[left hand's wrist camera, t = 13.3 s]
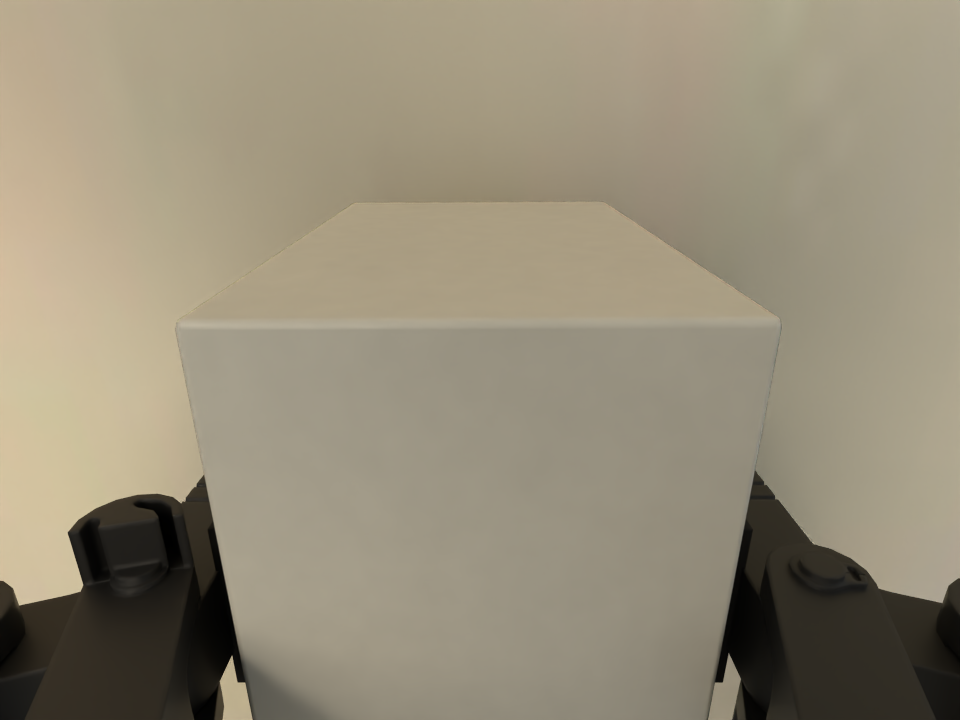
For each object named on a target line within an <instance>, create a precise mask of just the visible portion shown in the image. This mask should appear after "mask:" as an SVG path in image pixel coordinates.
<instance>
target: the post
mask: <svg viewBox="0 0 960 720" xmlns="http://www.w3.org/2000/svg"><path fill="white" fill-rule="evenodd" d="M781 329H782V326H781V321H780V318H779V317H777V316H776V315H774V314H773V313H771V312H770V311H768V310H767V309H765V308H764V307H762V306H761V305H759V304H758V303H756V302H755V301H753V300H752V299H750V298H749V297H747V296H746V295H744V294H743V293H741V292H740V291H738V290H736V289H735V288H733V287H732V286H730V285H729V284H727V283H726V282H724V281H723V280H721V279H720V278H718V277H717V276H715V275H714V274H712V273H711V272H709V271H708V270H706V269H705V268H703V267H702V266H700V265H699V264H697V263H696V262H694V261H693V260H691V259H690V258H688V257H687V256H685V255H684V254H682V253H681V252H679V251H678V250H676V249H675V248H673V247H672V246H670V245H669V244H667V243H665V242H664V241H662V240H661V239H659V238H658V237H656V236H655V235H653V234H652V233H650V232H649V231H647V230H646V229H644V228H643V227H641V226H640V225H638V224H637V223H635V222H634V221H632V220H631V219H629V218H628V217H626V216H625V215H623V214H622V213H620V212H619V211H617V210H616V209H614V208H613V207H611V206H610V205H608V204H607V203H605V202H378V203H353V204H352V205H350V206H349V207H347V208H346V209H344V210H343V211H341V212H340V213H338V214H337V215H335V216H334V217H332V218H331V219H329V220H328V221H326V222H325V223H323V224H322V225H320V226H319V227H317V228H316V229H314V230H313V231H311V232H310V233H308V234H307V235H305V236H303V237H302V238H300V239H299V240H297V241H296V242H294V243H293V244H291V245H290V246H288V247H287V248H285V249H284V250H282V251H281V252H279V253H278V254H276V255H275V256H273V257H272V258H270V259H269V260H267V261H266V262H264V263H263V264H261V265H260V266H258V267H257V268H255V269H254V270H252V271H251V272H249V273H248V274H246V275H245V276H243V277H242V278H240V279H239V280H237V281H236V282H234V283H233V284H231V285H230V286H228V287H227V288H225V289H224V290H222V291H221V292H219V293H218V294H216V295H215V296H213V297H212V298H210V299H209V300H207V301H206V302H204V303H203V304H201V305H200V306H198V307H197V308H195V309H194V310H192V311H191V312H189V313H188V314H186V315H185V316H183V317H182V318H180V319H179V320H177V323H176V335H177V340H178V345H179V350H180V355H181V360H182V366H183V371H184V376H185V381H186V386H187V391H188V396H189V401H190V406H191V411H192V416H193V421H194V426H195V431H196V436H197V441H198V446H199V451H200V456H201V461H202V466H203V471H204V476H205V481H206V486H207V491H208V496H209V502H210V507H211V512H212V517H213V522H214V527H215V532H216V537H217V542H218V547H219V552H220V557H221V562H222V567H223V572H224V577H225V582H226V587H227V592H228V597H229V602H230V607H231V612H232V617H233V622H234V627H235V632H236V637H237V643H238V648H239V653H240V658H241V663H242V668H243V673H244V678H245V683H246V688H247V693H248V698H249V703H250V708H251V713H252V718H253V720H708V716H709V711H710V705H711V700H712V695H713V690H714V684H715V679H716V674H717V668H718V663H719V658H720V652H721V647H722V642H723V636H724V631H725V626H726V621H727V615H728V610H729V605H730V599H731V594H732V589H733V583H734V578H735V573H736V568H737V562H738V557H739V552H740V546H741V541H742V536H743V530H744V525H745V520H746V514H747V509H748V504H749V499H750V493H751V488H752V483H753V477H754V472H755V467H756V461H757V456H758V451H759V446H760V440H761V435H762V430H763V424H764V419H765V414H766V408H767V403H768V398H769V392H770V387H771V382H772V377H773V371H774V366H775V361H776V355H777V350H778V345H779V339H780V334H781Z"/></svg>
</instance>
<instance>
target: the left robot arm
mask: <svg viewBox="0 0 960 720" xmlns="http://www.w3.org/2000/svg"><path fill="white" fill-rule="evenodd" d="M68 535H69V538H70V542H71V545H72V548H73V552H74V555H75V558H76V562H77V565H78V568H79V572H80V575H81V578H82V582H83V588H82V590H81V592H78V593H74V594H71V595H67V596H62V597H57V598H53V599H48V600H43V601H39V602H34V603H30V604H25V605H20V606H19V604H18V601H17V599H16V596H15V593H14V590H13V588H12V587H10V586H9V585H8V584H6V583H5V582H4V581H0V720H222V719H223V710H224V703H223V697H222V691H221V686H220V680H221V677H222V675H223V673H224V671H225V669H226V667H227V664H228V662H229V660H230V658H231V656H233V661H234V666H235V671H236V676H237V681H238V682H245V678H244V673H243V668H242V663H241V658H240V653H239V648H238V643H237V637H236V632H235V627H234V622H233V617H232V612H231V607H230V602H229V597H228V592H227V587H226V582H225V577H224V572H223V567H222V562H221V557H220V552H219V547H218V542H217V537H216V532H215V527H214V522H213V517H212V512H211V507H210V502H209V496H208V491H207V486H206V481H205V476H204V475H203V477H202V478H201V479H200V480H199V482H198V483H197V487H194V488H193V489H192V491H191V492H190V493H189V495H188V496H187V497H186V501H185V502H182V504H181V503H180V502H178V501H177V500H176V499H174V498H173V497H170V496H165V495H160V494H146V495H135V496H131V497H127V498H123V499H118V500H115V501H113V502H110V503H108V504H106V505H103V506H101V507H98V508H96V509H94V510H93V511H91V512H90V513H88V514H87V515H85V516H84V517H82V518H81V519H79V520H78V521H77V522H76V524H75V525H74V526H73V527H72V528H71V529H70V531H69V532H68ZM728 653H729V654H730V656H731V658H732V660H733V663H734V665H735V667H736V669H737V671H738V673H739V675H740V678H741V681H740V686H739V691H738V695H737V700H736V705H735V710H734V714H733V719H732V720H960V578H959V579H957V580H956V581H954V582H953V583H952V584H950V585H949V586H948V589H947V592H946V595H945V597H944V600H943V603H939V602H934V601H929V600H925V599H920V598H915V597H911V596H906V595H901V594H897V593H892V592H888V591H885V590H881V589H878V586H877V584H876V583H875V582H874V580H873V579H872V577H871V576H870V575H869V573H868V572H867V571H866V570H865V569H864V568H862V567H861V566H860V565H858V564H857V563H856V562H854V561H853V560H852V559H851V558H848V557H846V556H844V555H842V554H840V553H838V552H836V551H834V550H832V549H829V548H825V547H821V546H818V545H814V544H812V542H811V541H810V540H809V539H808V537H807V536H806V535H805V534H804V532H803V531H802V530H801V528H800V527H799V526H798V525H797V523H796V522H795V521H794V519H793V518H792V517H791V516H790V514H789V513H788V512H787V511H786V509H785V508H784V507H783V505H782V504H781V503H780V502H779V500H775V495H774V494H773V493H772V491H771V490H770V489H769V488H768V486H767V485H764V481H763V480H762V479H761V477H760V476H759V475H758V474H757V472H756V471H755V472H754V477H753V483H752V488H751V493H750V499H749V504H748V509H747V514H746V520H745V525H744V530H743V536H742V541H741V546H740V552H739V557H738V562H737V568H736V573H735V578H734V583H733V589H732V594H731V599H730V605H729V610H728V615H727V621H726V626H725V631H724V636H723V642H722V647H721V652H720V658H719V663H718V668H717V674H716V679H715V682H723V678H724V673H725V668H726V663H727V658H728Z"/></svg>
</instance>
